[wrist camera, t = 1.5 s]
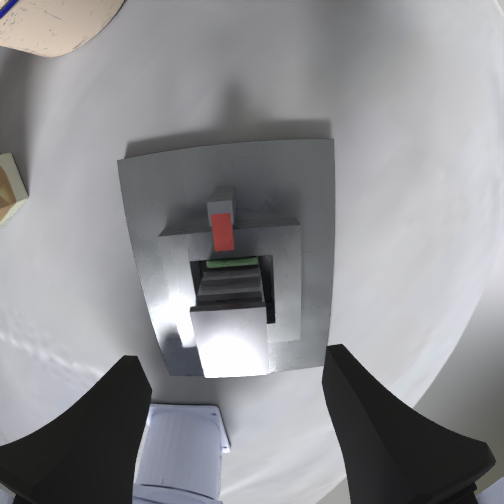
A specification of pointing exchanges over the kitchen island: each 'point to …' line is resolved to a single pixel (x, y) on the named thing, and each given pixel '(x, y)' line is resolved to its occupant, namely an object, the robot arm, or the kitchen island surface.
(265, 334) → the grey ribbed block
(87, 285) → the kitchen island surface
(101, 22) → the teacup with lid
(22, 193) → the skincare box
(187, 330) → the stand base
